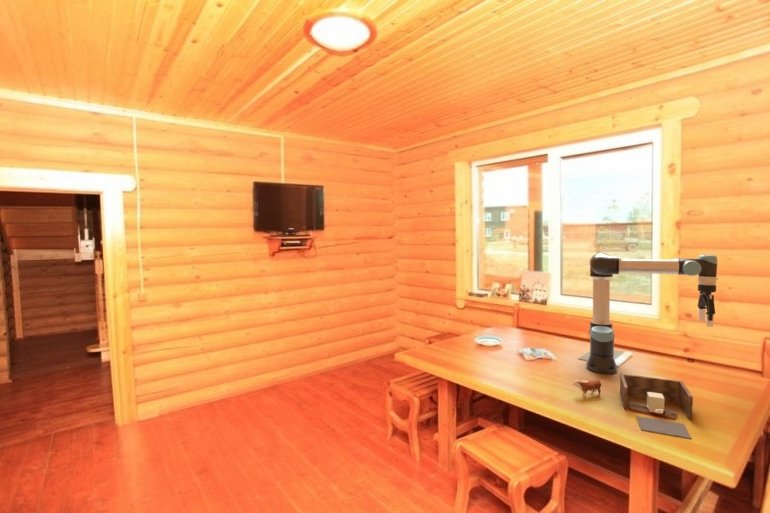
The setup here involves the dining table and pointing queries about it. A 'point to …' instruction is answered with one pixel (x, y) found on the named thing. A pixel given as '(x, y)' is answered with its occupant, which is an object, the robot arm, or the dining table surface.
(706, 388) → the dining table surface
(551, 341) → the dining table surface
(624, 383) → the open box
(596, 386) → the bull figurine
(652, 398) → the beige block
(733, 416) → the dining table surface
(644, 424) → the grey mat
